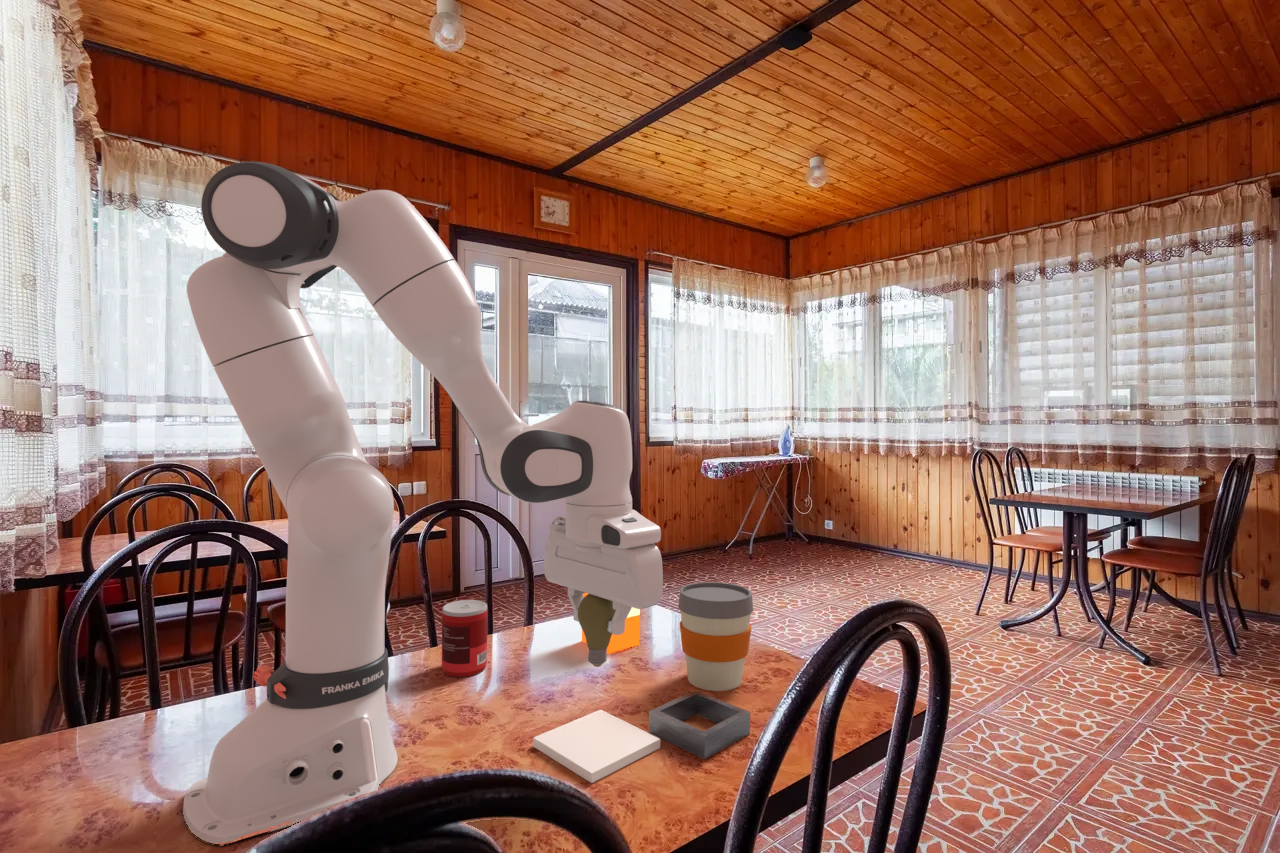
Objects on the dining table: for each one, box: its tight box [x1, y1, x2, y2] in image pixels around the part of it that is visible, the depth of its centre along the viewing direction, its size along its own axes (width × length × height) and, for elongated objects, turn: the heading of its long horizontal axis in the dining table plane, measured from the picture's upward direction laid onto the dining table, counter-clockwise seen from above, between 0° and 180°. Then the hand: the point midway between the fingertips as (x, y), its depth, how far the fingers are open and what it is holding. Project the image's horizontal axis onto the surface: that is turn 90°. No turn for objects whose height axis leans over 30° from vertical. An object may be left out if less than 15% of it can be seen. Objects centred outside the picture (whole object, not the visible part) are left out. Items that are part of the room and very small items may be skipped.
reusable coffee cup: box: [678, 581, 754, 692], centre depth 109 cm, size 13×13×15 cm
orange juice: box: [581, 593, 641, 655], centre depth 126 cm, size 8×9×20 cm
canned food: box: [441, 599, 489, 678], centre depth 112 cm, size 8×8×11 cm
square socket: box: [648, 689, 751, 760], centre depth 90 cm, size 10×10×3 cm
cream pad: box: [532, 709, 661, 784], centre depth 86 cm, size 12×12×1 cm
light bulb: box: [578, 594, 616, 668], centre depth 86 cm, size 6×6×10 cm
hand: (598, 627), depth 86 cm, fingers closed on light bulb, 5 cm apart
